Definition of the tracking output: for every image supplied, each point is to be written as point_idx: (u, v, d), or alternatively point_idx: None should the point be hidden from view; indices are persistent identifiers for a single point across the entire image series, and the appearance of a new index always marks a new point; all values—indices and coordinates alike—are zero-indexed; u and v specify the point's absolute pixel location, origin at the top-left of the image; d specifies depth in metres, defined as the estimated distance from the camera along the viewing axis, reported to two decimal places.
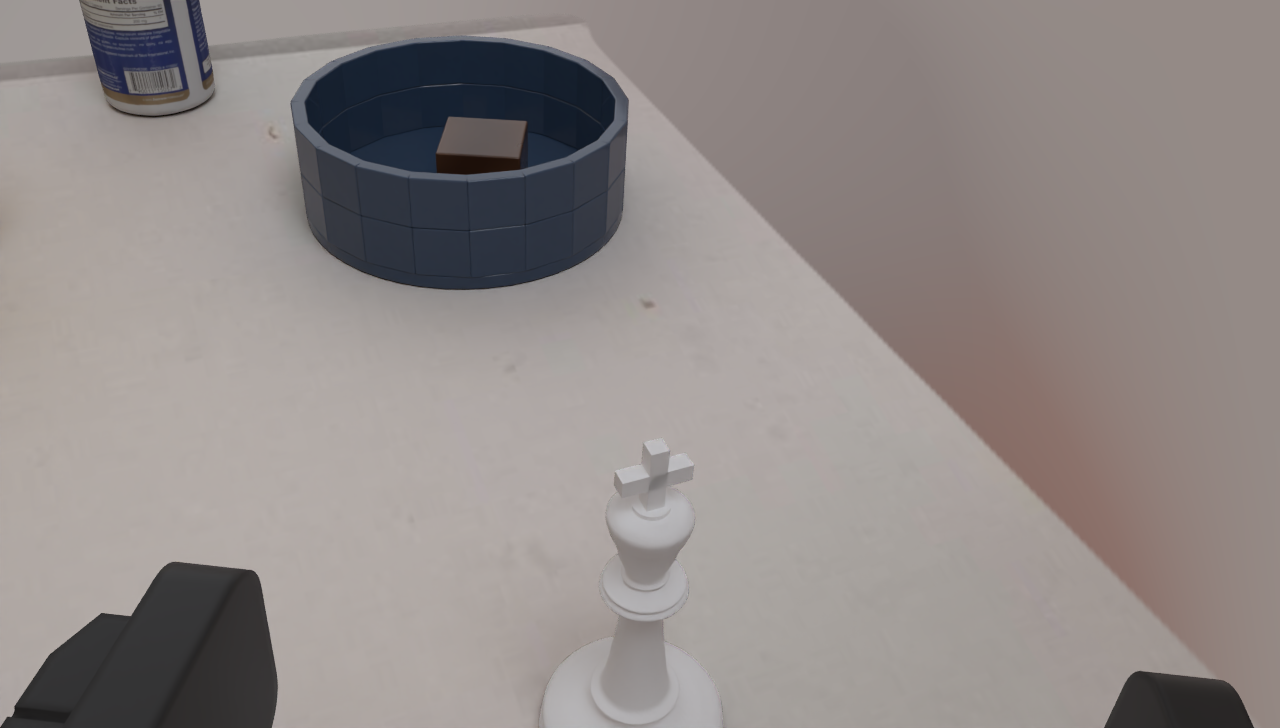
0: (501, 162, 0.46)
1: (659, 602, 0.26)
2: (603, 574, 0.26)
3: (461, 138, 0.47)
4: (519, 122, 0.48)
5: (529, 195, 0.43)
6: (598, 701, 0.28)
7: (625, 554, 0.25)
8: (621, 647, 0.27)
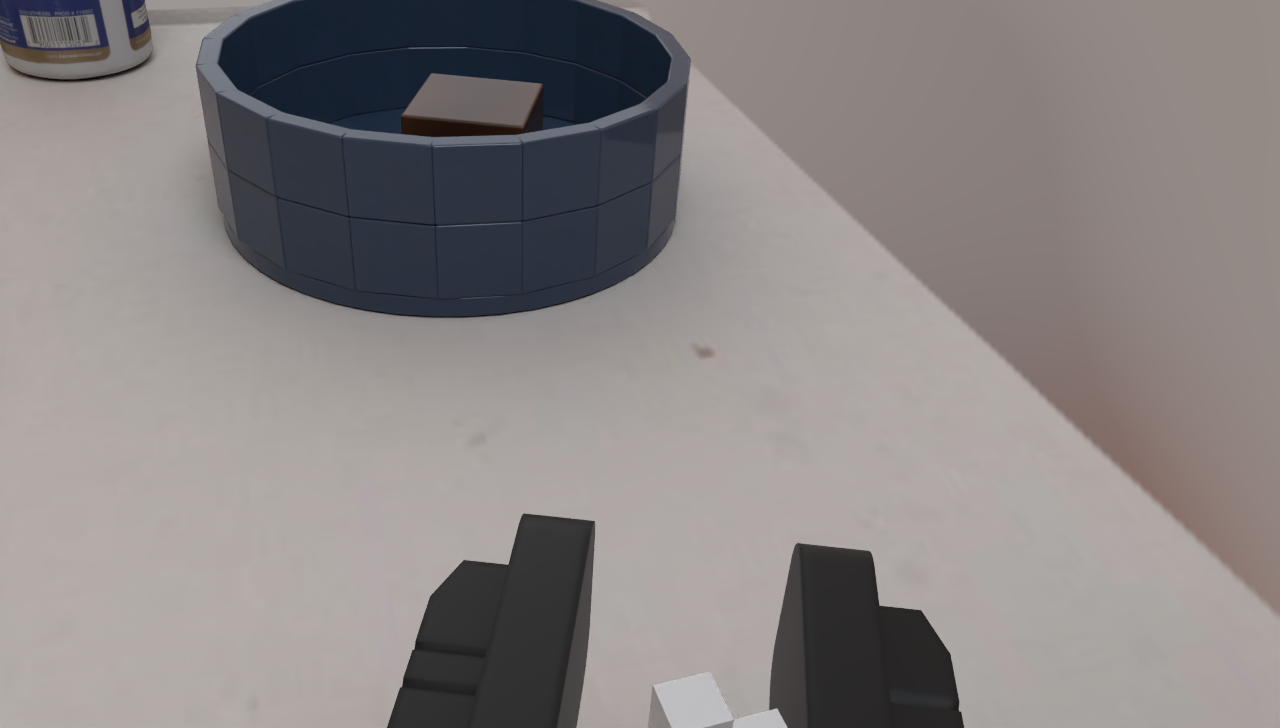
0: (496, 133, 0.31)
1: None
2: None
3: (443, 99, 0.32)
4: (531, 84, 0.34)
5: (528, 175, 0.28)
6: None
7: None
8: None
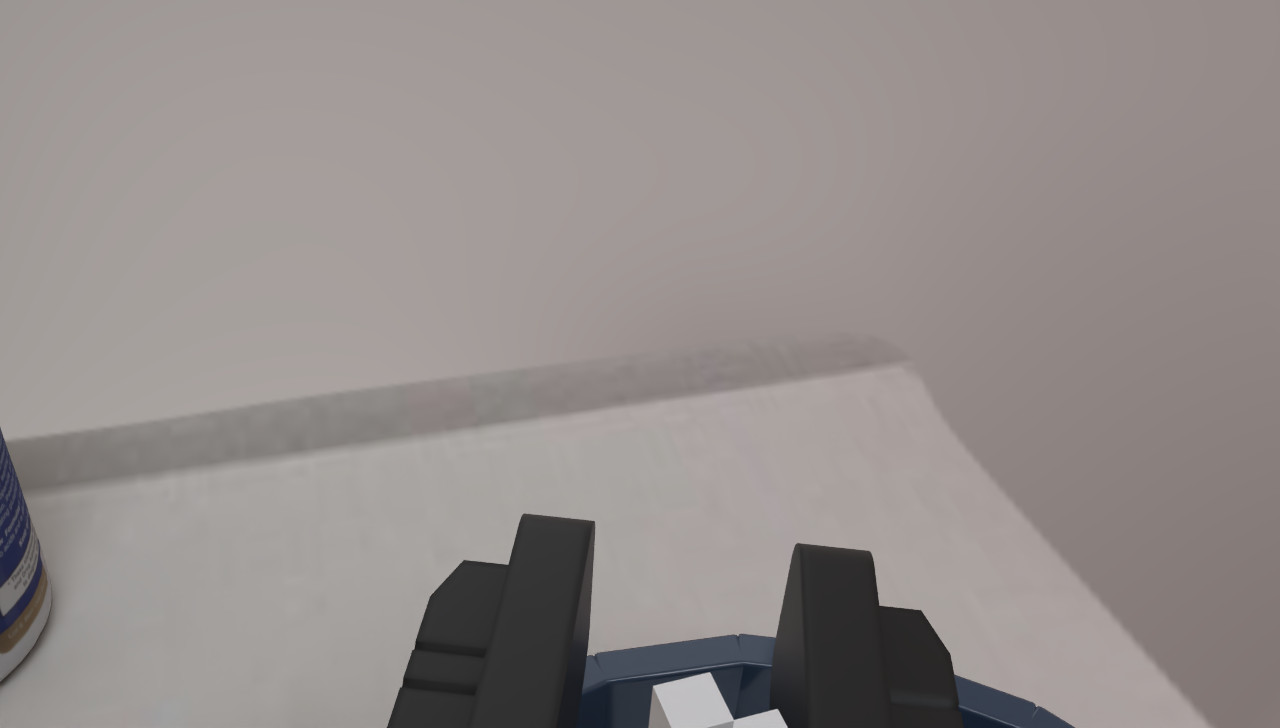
0: None
1: None
2: None
3: None
4: None
5: None
6: None
7: None
8: None
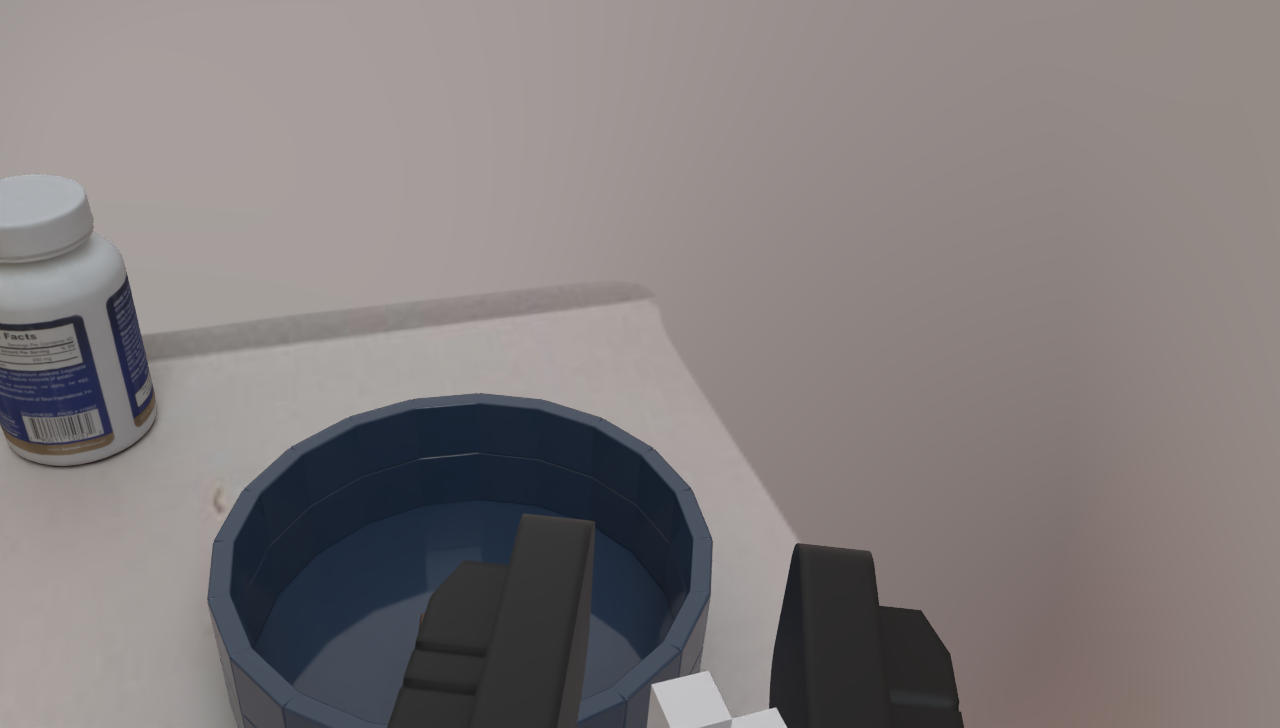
0: None
1: None
2: None
3: None
4: None
5: None
6: None
7: None
8: None
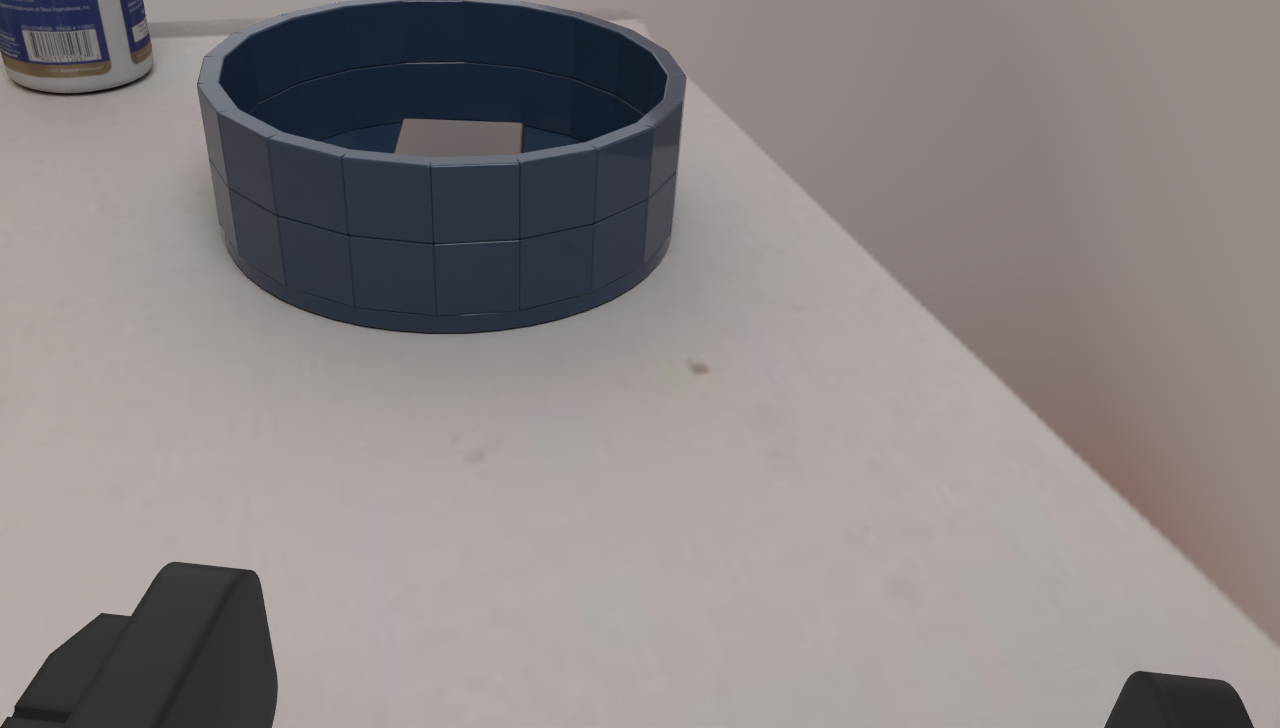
0: None
1: None
2: None
3: (427, 147, 0.31)
4: (511, 124, 0.32)
5: (525, 194, 0.29)
6: None
7: None
8: None
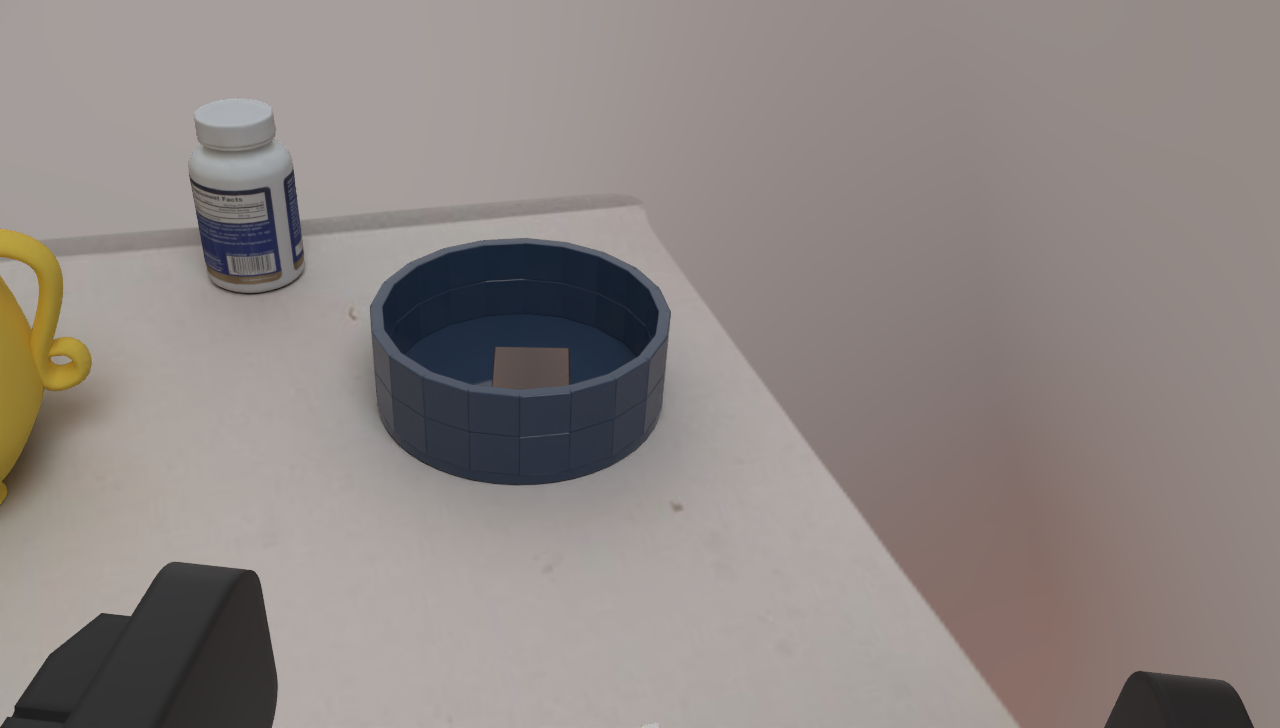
0: None
1: None
2: None
3: (512, 371, 0.51)
4: (562, 350, 0.52)
5: (574, 408, 0.49)
6: None
7: None
8: None
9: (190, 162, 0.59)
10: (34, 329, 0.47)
